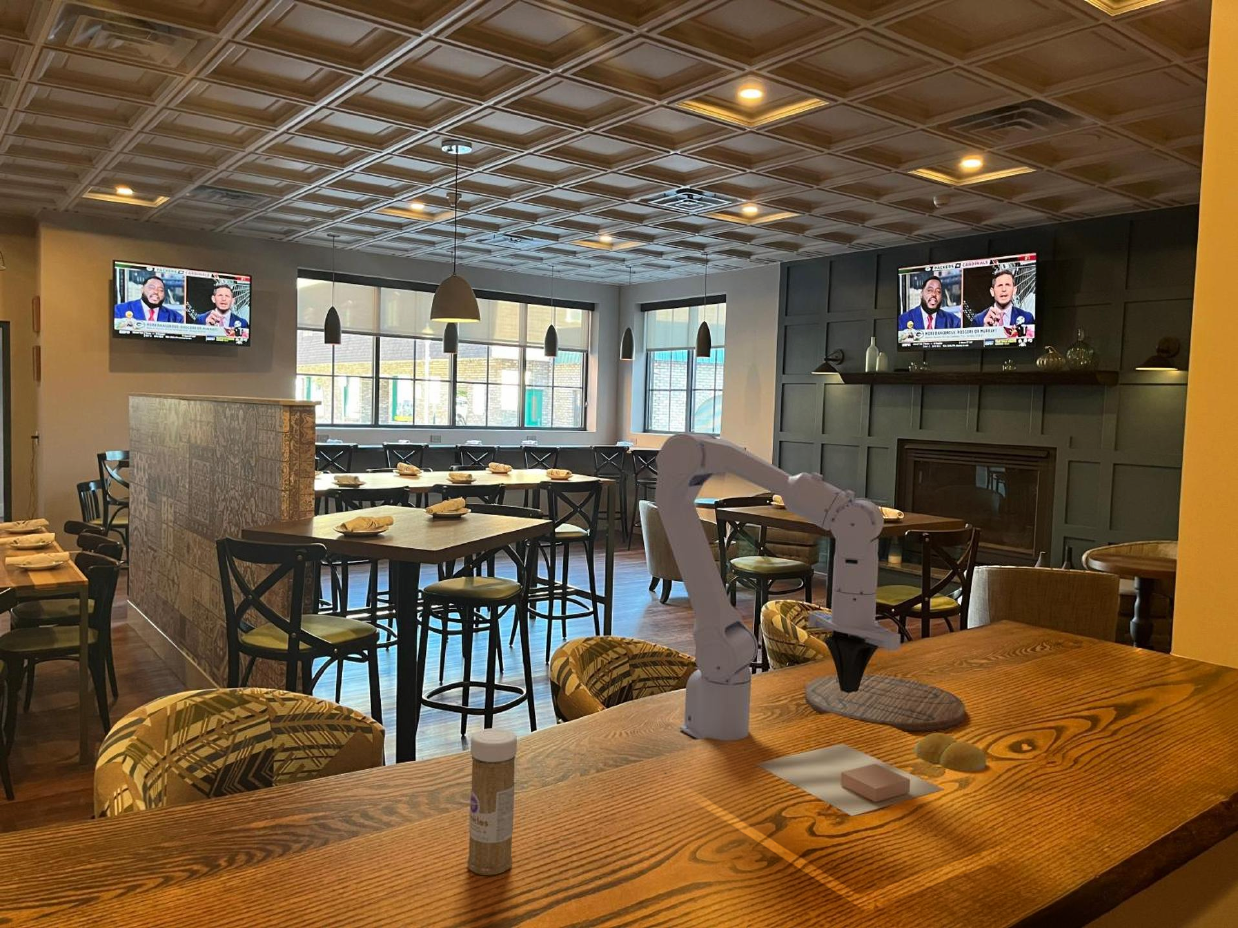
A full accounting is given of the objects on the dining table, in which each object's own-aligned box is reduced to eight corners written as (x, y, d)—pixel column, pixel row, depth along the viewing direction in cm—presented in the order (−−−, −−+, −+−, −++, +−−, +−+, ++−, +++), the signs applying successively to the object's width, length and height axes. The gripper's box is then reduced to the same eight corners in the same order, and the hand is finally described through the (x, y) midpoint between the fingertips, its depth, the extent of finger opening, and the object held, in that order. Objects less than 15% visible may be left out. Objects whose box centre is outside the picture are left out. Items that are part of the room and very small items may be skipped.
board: (754, 771, 117) (754, 763, 117) (842, 750, 125) (842, 743, 125) (851, 824, 102) (852, 815, 102) (943, 796, 111) (944, 789, 111)
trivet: (946, 747, 129) (946, 734, 129) (781, 712, 142) (782, 700, 142) (978, 703, 150) (978, 692, 150) (832, 675, 163) (833, 665, 163)
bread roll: (967, 784, 116) (969, 754, 115) (905, 762, 122) (906, 734, 122) (998, 769, 121) (1000, 740, 121) (937, 749, 128) (938, 721, 128)
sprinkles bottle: (457, 865, 90) (461, 734, 89) (492, 849, 93) (495, 723, 93) (488, 882, 87) (492, 746, 86) (522, 865, 90) (526, 734, 90)
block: (841, 771, 111) (875, 788, 106) (875, 763, 114) (910, 779, 109) (840, 785, 111) (875, 803, 106) (874, 776, 114) (909, 793, 109)
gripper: (918, 598, 115) (912, 702, 116) (836, 578, 128) (831, 672, 128) (880, 602, 112) (874, 710, 112) (799, 582, 124) (794, 678, 125)
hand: (849, 690), depth 120 cm, fingers closed
